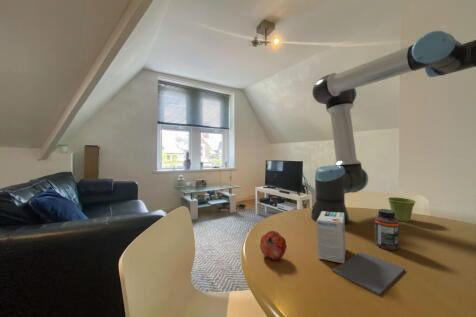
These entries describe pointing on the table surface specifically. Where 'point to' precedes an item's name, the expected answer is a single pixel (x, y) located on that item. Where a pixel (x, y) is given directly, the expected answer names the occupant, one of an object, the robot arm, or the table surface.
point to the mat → (369, 272)
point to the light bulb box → (331, 236)
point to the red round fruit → (273, 245)
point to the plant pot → (402, 208)
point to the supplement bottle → (387, 230)
